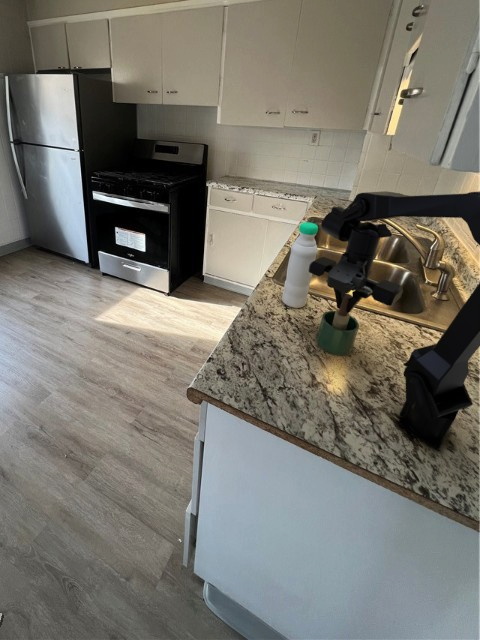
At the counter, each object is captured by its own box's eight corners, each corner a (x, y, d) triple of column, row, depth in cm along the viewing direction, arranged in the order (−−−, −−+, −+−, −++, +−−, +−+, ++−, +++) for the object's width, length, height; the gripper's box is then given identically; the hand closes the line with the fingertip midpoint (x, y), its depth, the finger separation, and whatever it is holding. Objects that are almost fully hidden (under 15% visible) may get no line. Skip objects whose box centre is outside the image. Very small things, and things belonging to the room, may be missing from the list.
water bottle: (280, 294, 98) (293, 219, 88) (303, 297, 98) (319, 221, 87) (283, 307, 92) (298, 227, 81) (307, 310, 91) (326, 229, 80)
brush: (348, 327, 76) (357, 296, 72) (342, 333, 74) (351, 301, 70) (335, 321, 78) (344, 290, 74) (329, 326, 76) (337, 295, 72)
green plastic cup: (357, 345, 78) (365, 322, 75) (341, 360, 73) (349, 336, 70) (326, 328, 84) (332, 307, 81) (310, 341, 79) (315, 318, 76)
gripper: (301, 244, 69) (290, 304, 76) (393, 278, 56) (369, 345, 63) (327, 234, 76) (314, 289, 82) (414, 261, 63) (391, 324, 69)
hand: (343, 310), depth 74 cm, fingers closed on brush, 2 cm apart
